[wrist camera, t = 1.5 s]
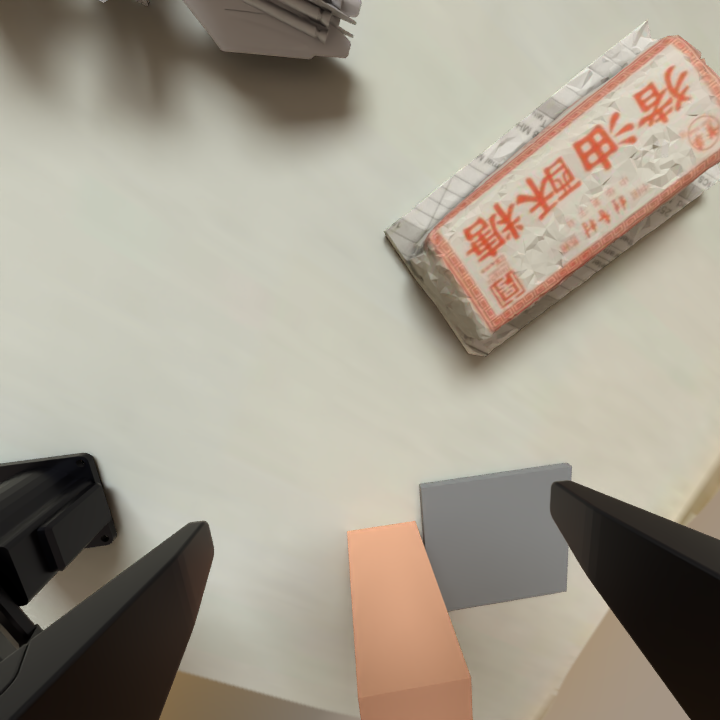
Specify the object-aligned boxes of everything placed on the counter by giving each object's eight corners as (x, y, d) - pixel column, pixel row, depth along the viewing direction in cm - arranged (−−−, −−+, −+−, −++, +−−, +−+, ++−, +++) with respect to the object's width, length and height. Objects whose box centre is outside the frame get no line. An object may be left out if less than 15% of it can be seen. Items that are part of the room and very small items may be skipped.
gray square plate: (428, 608, 26) (430, 614, 26) (419, 484, 24) (421, 488, 23) (562, 585, 27) (566, 591, 26) (567, 462, 24) (572, 466, 24)
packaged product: (504, 377, 18) (394, 218, 16) (468, 358, 22) (380, 234, 20) (802, 156, 16) (726, -51, 14) (697, 185, 21) (629, 32, 19)
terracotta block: (354, 587, 25) (369, 777, 15) (347, 531, 24) (358, 698, 14) (419, 577, 25) (473, 757, 16) (415, 521, 24) (470, 677, 15)
